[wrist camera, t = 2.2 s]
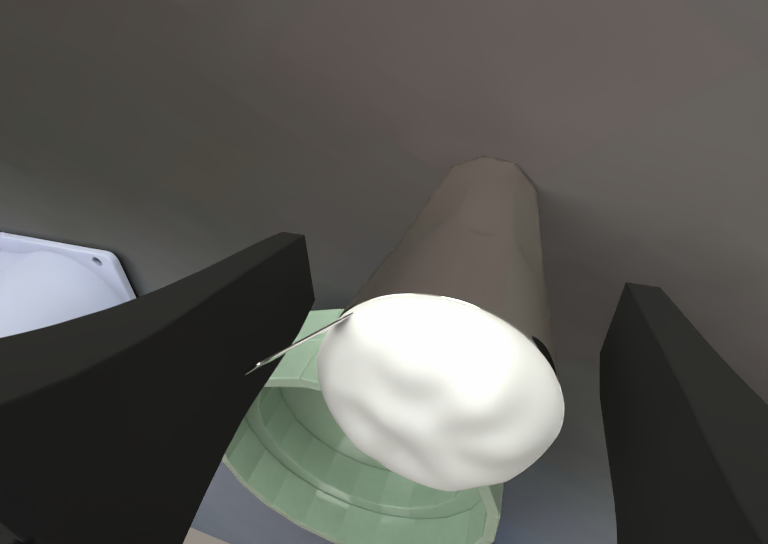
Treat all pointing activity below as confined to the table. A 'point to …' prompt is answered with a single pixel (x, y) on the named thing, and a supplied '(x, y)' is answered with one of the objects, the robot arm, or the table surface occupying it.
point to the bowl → (342, 468)
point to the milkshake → (451, 340)
